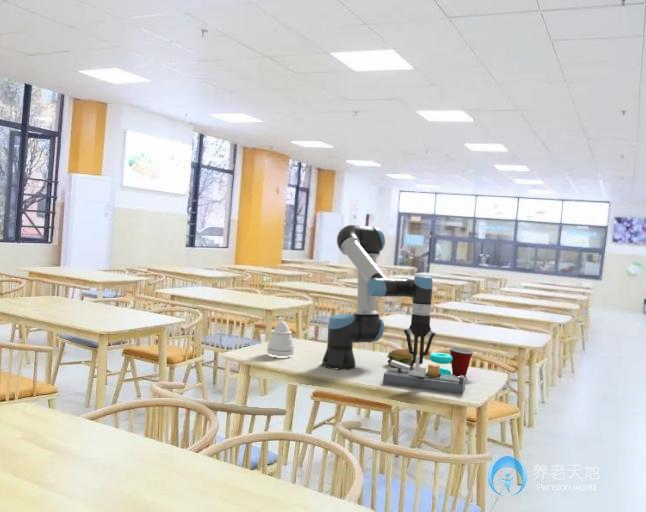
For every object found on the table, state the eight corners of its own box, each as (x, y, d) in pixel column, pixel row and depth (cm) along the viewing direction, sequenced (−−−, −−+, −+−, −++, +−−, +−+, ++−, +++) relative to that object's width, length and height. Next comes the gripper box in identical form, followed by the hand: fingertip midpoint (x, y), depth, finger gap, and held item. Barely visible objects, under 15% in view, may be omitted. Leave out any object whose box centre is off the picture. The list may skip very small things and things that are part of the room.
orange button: (426, 377, 248) (427, 365, 248) (428, 375, 252) (428, 363, 252) (438, 378, 246) (439, 367, 246) (439, 376, 251) (440, 365, 251)
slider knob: (418, 376, 243) (418, 367, 243) (419, 374, 247) (420, 365, 247) (423, 377, 242) (424, 368, 242) (425, 375, 246) (426, 366, 246)
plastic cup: (472, 379, 263) (474, 352, 263) (447, 376, 265) (449, 350, 265) (471, 374, 274) (473, 348, 274) (447, 371, 276) (449, 345, 276)
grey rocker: (390, 364, 253) (391, 361, 253) (391, 363, 257) (392, 359, 256) (408, 370, 251) (409, 367, 251) (409, 369, 254) (410, 365, 254)
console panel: (383, 383, 246) (384, 367, 246) (389, 376, 259) (390, 362, 258) (462, 394, 237) (463, 378, 236) (465, 386, 249) (466, 371, 249)
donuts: (429, 355, 260) (430, 351, 270) (427, 378, 261) (428, 373, 271) (452, 357, 258) (452, 353, 268) (450, 380, 259) (451, 375, 268)
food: (422, 369, 278) (423, 352, 277) (395, 370, 273) (396, 352, 273) (408, 362, 291) (409, 346, 290) (381, 363, 286) (383, 346, 285)
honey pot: (263, 353, 292) (265, 316, 291) (287, 352, 297) (290, 316, 296) (272, 358, 280) (274, 320, 279) (297, 358, 285) (300, 320, 285)
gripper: (403, 313, 242) (399, 371, 243) (435, 316, 238) (431, 375, 239) (406, 311, 250) (403, 367, 250) (438, 314, 245) (434, 371, 246)
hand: (417, 371), depth 245 cm, fingers closed
